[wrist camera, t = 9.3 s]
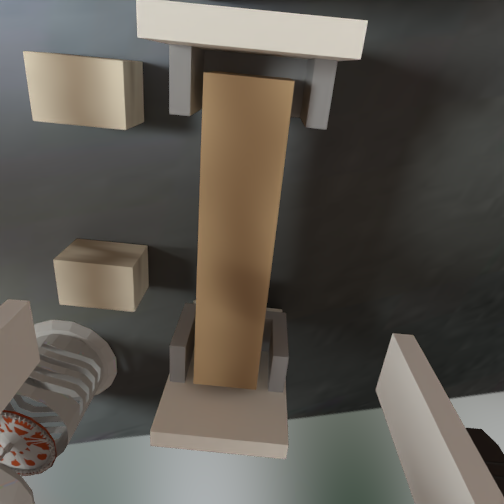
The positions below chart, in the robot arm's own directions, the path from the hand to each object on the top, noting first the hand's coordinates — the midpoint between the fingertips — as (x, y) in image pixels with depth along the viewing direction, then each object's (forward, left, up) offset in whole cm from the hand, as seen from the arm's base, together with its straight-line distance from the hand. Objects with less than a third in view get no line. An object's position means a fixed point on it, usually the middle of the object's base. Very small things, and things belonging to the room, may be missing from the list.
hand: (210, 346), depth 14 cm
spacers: (-11, 0, -18) cm, 21 cm away
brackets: (0, 0, -18) cm, 18 cm away
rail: (0, 0, -12) cm, 12 cm away
